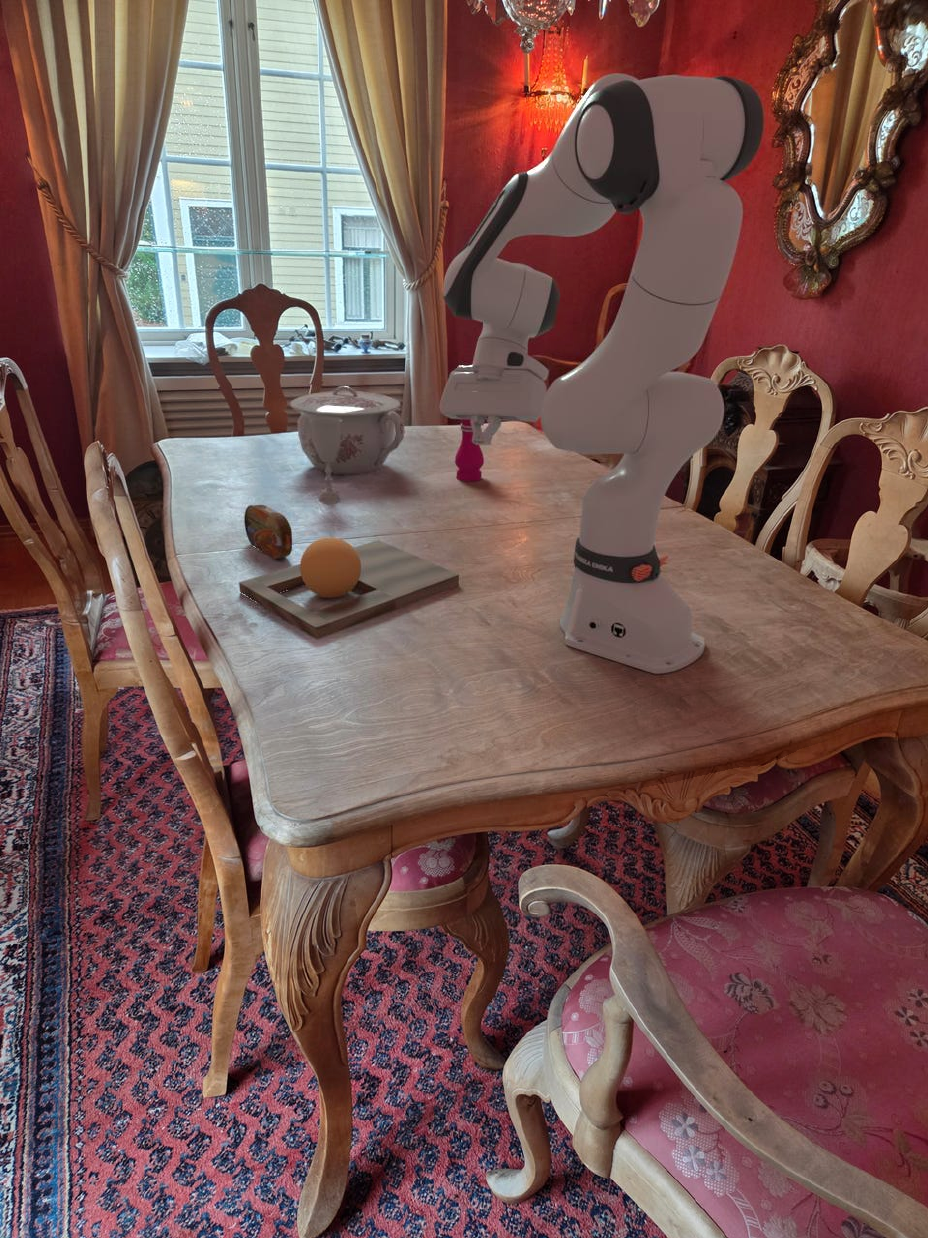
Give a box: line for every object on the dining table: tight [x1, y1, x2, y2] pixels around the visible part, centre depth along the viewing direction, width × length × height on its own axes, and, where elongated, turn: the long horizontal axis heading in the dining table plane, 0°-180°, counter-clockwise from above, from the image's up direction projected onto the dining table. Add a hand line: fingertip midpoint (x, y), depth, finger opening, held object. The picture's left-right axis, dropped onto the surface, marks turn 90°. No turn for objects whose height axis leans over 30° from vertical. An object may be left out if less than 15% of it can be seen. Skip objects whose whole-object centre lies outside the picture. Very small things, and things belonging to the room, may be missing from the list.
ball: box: [299, 536, 361, 599], centre depth 127 cm, size 10×10×10 cm
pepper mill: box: [454, 419, 485, 482], centre depth 188 cm, size 7×7×20 cm
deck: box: [238, 539, 460, 640], centre depth 131 cm, size 22×30×2 cm
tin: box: [243, 504, 293, 560], centre depth 144 cm, size 15×3×8 cm, turn 40°
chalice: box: [309, 417, 342, 504], centre depth 170 cm, size 7×7×18 cm
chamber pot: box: [289, 385, 405, 476], centre depth 193 cm, size 28×28×21 cm
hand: (480, 443), depth 131 cm, fingers closed
